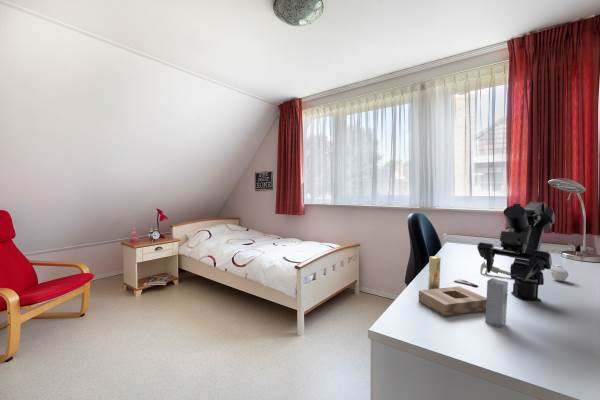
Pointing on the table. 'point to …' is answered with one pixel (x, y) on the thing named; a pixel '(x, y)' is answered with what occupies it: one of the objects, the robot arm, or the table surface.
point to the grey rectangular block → (496, 303)
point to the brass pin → (434, 272)
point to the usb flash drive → (466, 282)
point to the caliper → (493, 269)
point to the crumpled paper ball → (558, 272)
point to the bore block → (452, 301)
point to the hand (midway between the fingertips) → (505, 276)
